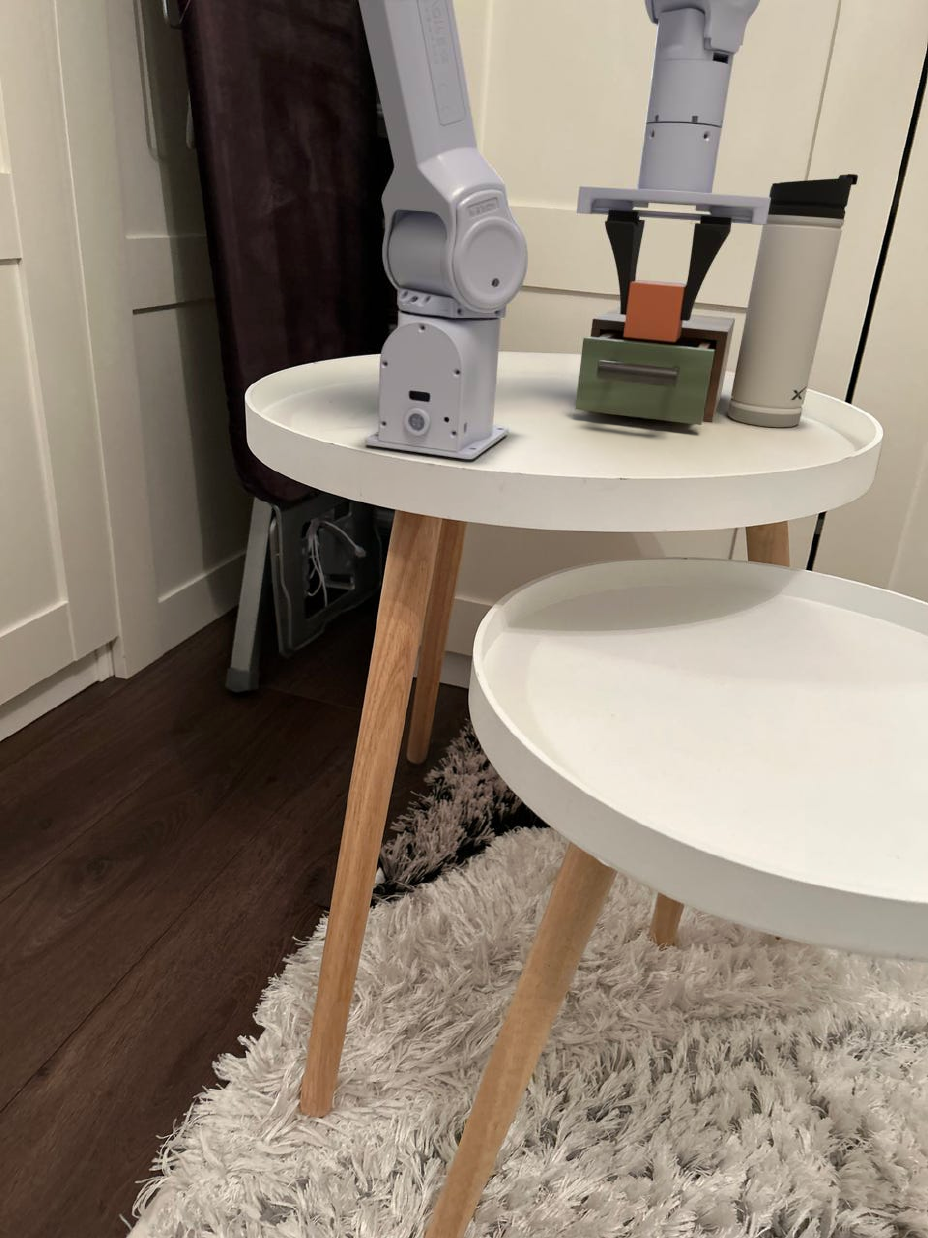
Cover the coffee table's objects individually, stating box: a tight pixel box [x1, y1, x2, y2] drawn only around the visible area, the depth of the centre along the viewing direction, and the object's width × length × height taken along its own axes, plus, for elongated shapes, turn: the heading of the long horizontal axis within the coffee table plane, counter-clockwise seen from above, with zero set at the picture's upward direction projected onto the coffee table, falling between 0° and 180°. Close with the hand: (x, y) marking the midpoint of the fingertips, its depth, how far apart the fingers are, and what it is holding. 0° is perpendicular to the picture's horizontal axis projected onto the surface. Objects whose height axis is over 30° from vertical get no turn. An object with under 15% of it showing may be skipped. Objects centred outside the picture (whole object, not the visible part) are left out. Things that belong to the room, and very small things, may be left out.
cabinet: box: [590, 307, 736, 423], centre depth 83 cm, size 14×12×8 cm
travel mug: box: [727, 173, 859, 428], centre depth 75 cm, size 6×7×20 cm
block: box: [623, 279, 687, 342], centre depth 72 cm, size 4×4×4 cm
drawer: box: [575, 330, 715, 426], centre depth 75 cm, size 17×10×6 cm, turn 162°
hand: (655, 316), depth 72 cm, fingers closed on block, 4 cm apart
